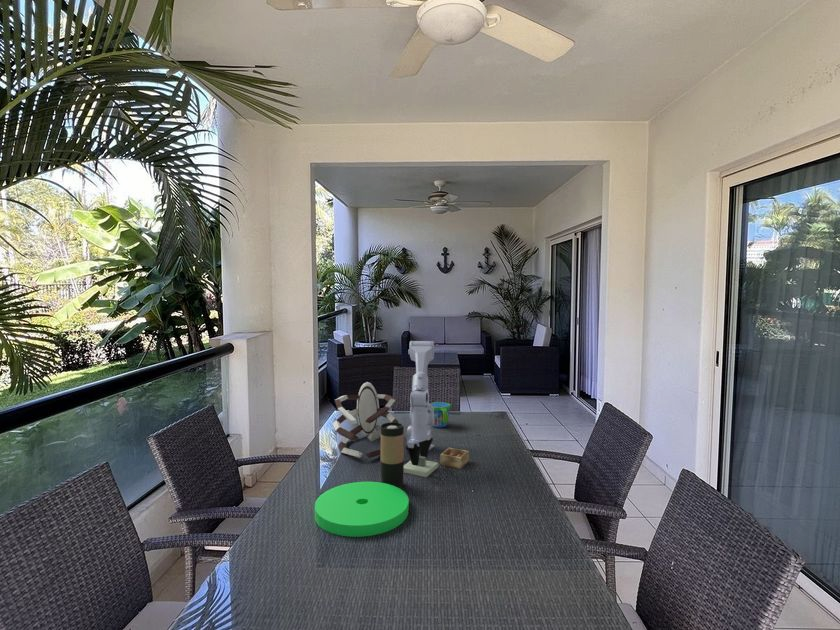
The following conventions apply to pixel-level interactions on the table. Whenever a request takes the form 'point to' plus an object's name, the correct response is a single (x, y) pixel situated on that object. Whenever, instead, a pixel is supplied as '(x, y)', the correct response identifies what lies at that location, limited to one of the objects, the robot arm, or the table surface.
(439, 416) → the snack cup
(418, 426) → the robot arm
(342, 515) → the disc
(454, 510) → the table surface
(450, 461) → the box
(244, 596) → the table surface
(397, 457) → the travel mug
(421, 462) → the lid
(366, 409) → the decorative sculpture
